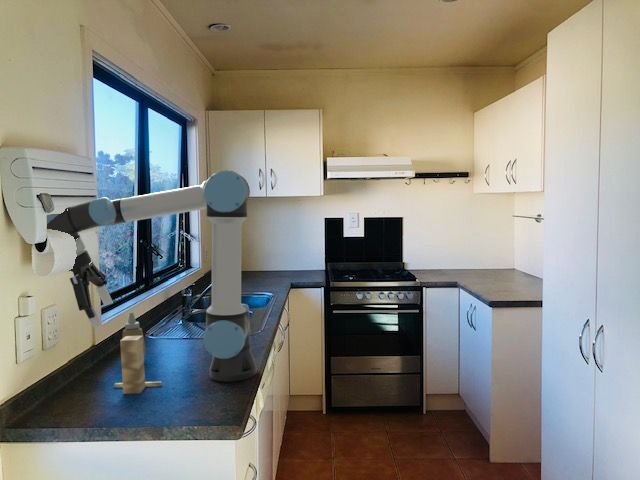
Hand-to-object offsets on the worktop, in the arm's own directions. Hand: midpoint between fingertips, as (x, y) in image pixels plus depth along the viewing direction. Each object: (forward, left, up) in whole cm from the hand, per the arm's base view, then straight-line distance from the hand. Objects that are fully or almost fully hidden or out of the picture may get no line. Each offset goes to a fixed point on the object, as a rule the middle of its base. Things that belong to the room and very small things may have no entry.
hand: (103, 314), depth 160 cm
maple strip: (-11, +3, -22) cm, 25 cm away
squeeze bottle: (-2, -21, -22) cm, 31 cm away
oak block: (-11, +7, -22) cm, 25 cm away
